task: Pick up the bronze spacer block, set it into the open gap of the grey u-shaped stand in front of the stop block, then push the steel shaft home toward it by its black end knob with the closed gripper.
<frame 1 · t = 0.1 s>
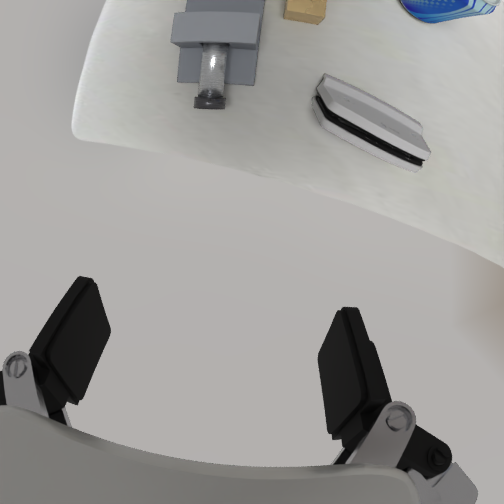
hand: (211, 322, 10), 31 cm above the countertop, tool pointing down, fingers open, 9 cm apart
shaft: (213, 64, 28), point 3 cm above the countertop, slide at 0.0 cm
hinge: (366, 120, 34), on the countertop
beer can: (417, 1, 21), on the countertop
grey u-shaped stand: (224, 10, 26), on the countertop
spacer: (302, 7, 25), on the countertop
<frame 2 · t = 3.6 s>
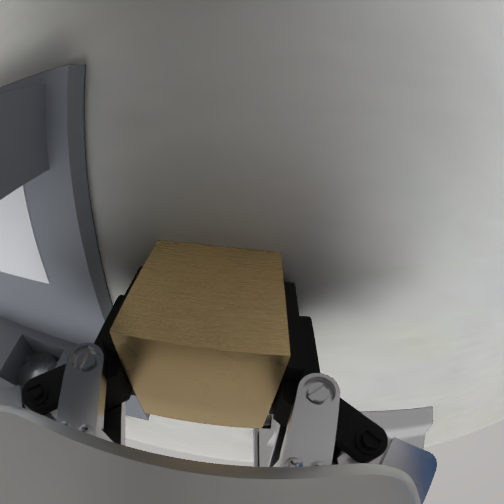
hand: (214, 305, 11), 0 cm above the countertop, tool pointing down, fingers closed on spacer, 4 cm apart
shaft: (73, 414, 14), point 3 cm above the countertop, slide at 0.0 cm
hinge: (344, 426, 20), on the countertop
grey u-shaped stand: (42, 297, 12), on the countertop
spacer: (215, 298, 11), on the countertop, touching gripper
when the fingers open (3 cm above the countertop, at t = 7.8 s): spacer drops 1 cm, resting on grey u-shaped stand.
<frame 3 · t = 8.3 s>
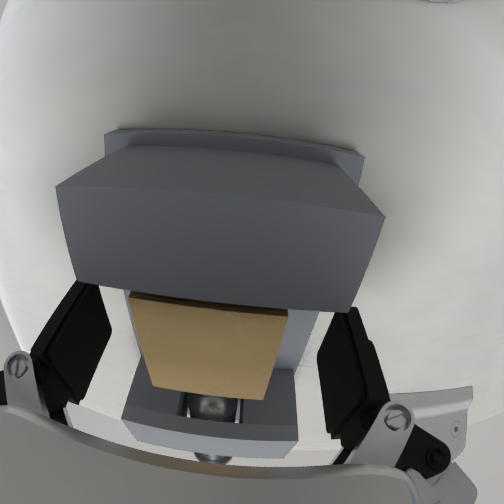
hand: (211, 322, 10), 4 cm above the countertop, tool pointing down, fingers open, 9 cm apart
shaft: (213, 431, 18), point 3 cm above the countertop, slide at 0.0 cm
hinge: (412, 406, 24), on the countertop
grey u-shaped stand: (218, 330, 16), on the countertop
spacer: (220, 278, 12), point 1 cm above the countertop, touching grey u-shaped stand
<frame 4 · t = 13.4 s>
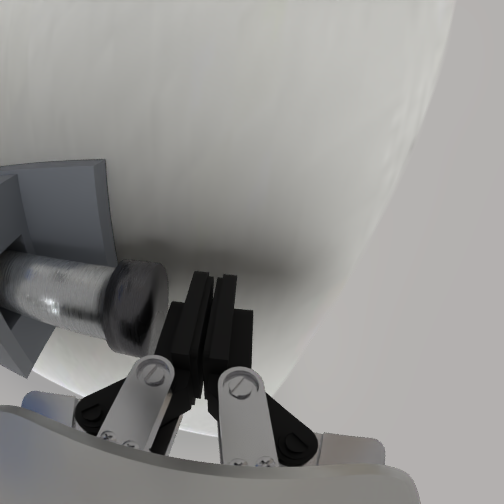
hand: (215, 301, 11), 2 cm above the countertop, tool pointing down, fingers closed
shaft: (46, 289, 10), point 3 cm above the countertop, slide at 0.3 cm, touching gripper
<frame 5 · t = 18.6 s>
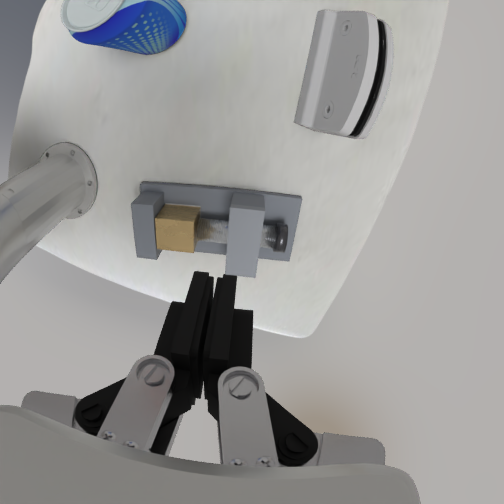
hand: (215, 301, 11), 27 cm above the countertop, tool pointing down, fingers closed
shaft: (242, 233, 37), point 3 cm above the countertop, slide at 5.0 cm
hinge: (336, 72, 28), on the countertop
beer can: (157, 27, 25), on the countertop
grey u-shaped stand: (217, 220, 39), on the countertop
spacer: (182, 220, 38), point 1 cm above the countertop, touching grey u-shaped stand
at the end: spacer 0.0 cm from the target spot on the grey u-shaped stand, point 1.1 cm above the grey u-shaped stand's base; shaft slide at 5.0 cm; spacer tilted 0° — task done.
